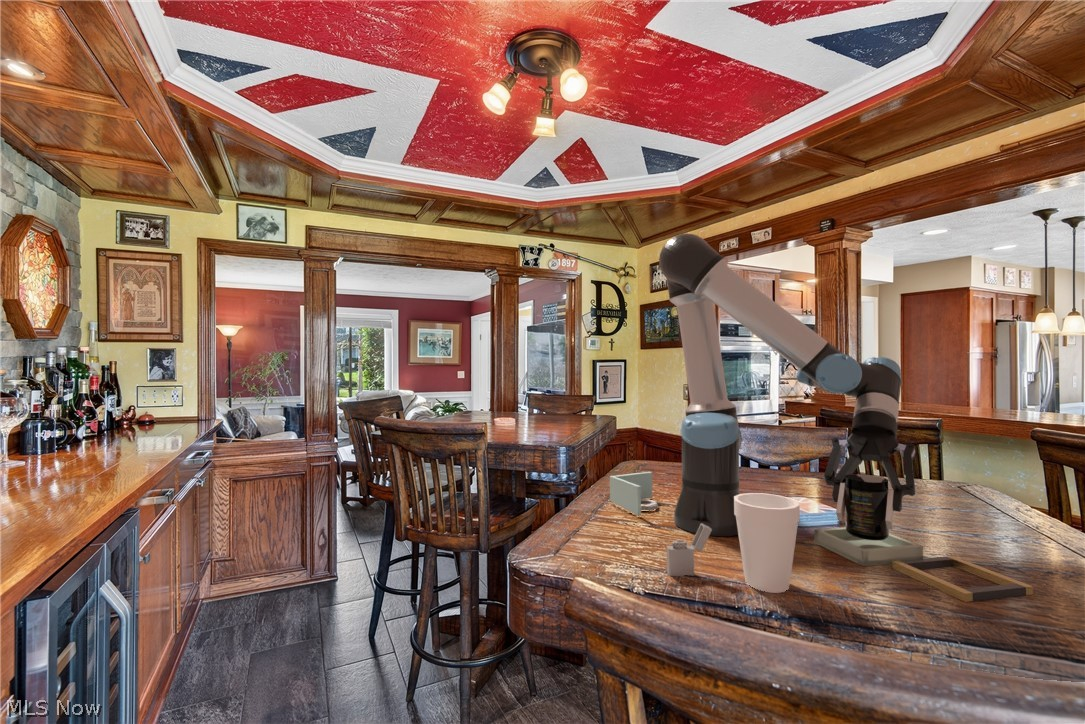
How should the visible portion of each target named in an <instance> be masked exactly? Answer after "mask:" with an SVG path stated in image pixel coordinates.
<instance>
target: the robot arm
mask: <svg viewBox="0 0 1085 724" xmlns="http://www.w3.org/2000/svg"><path fill="white" fill-rule="evenodd" d="M727 261H728V260H727V258H726V257H724V256H722V255H721V254H720V253H718V252H717V250H715V249H714V248H713V247H712V245H710V244H709V243H708V242H707V241H706V240H705V239H703V238H702V237H701V236H699V235H698V234H697V235H696V234H694V233H681V234H677V235H675V236H673V237H671V238H669V240H668V241H666V242H665V243H664V245H663V246H662V248H661V250H660V252H659V257H658V264H659V268H660V271H661V273H662V274H663V276H664V277H665V278H666V283H667V291H668V297H669V302H671V304H673V305H674V306H675V307H676V309H677V314H678V315H677V316H678V322H679V330H680V337H681V338H680V339H681V343H682V344H681V345H682V351H683V358H684V366H685V372H686V380H687V387H688V392H689V393H688V394H689V395H688V396H689V399H690V403H689V405H688V406H687V408H686V409H685V410H684V411H685V417H684V418H683V420H682V422H681V428H680V436H681V476H682V477H681V481H682V482H681V484H682V485H681V490H680V493H679V496H678V499H677V502H676V505H675V508H674V513H673V517H674V521H673V522H674V524H675V525H676V526H677V527H678V528H680V529H682V530H685V531H687V532H690V533H694V534H696V533H697V531H698V528H699V526H700V524H701V523H702V524H704V525H706V526H709V527H710V528H711V529H712V531H711V533H710V535H709V536H713V537H730V536H731V537H732V536H739V535H738V528H737V521H736V515H734V496H736V495H739V494H741V492H740V450H741V445H742V441H743V436H742V431H741V429H740V426H739V421H738V413H737V407H736V404H735V403H733V402H732V401H730V400H729V399H728V392H727V386H726V380H725V379H726V378H725V372H724V365H723V364H724V363H723V358H722V351H721V344H720V343H721V342H720V338H719V331H718V324H717V323H718V322H717V317H716V311H715V310H716V309H715V305H716V306H717V307H718V308H719V309H720V310H722V311H724V312H725V313H726V314H728V315H729V316H730V317H731V318H732V319H734V320H736V322H738V323H739V324H740V325H741V326H742V327H744V329H747V330H748V331H749V332H751V333H752V334H753V335H754V336H756V337H757V338H758V339H760V340H761V341H762V342H763V343H765V344H766V345H767V346H768V347H770V348H771V349H773V350H774V351H775V352H776V353H778V354H779V355H780V356H781V357H783V358H784V359H785V360H787V362H788V363H790V364H792V366H794V367H795V368H797V372H796V377H795V378H796V381H797V382H798V383H801V384H804V385H807V386H809V387H814V388H818V389H820V390H821V389H822V390H824V391H826V392H827V393H830V394H836V395H837V394H840V395H845V396H848V397H852V398H855V404H854V409H853V417H852V424H851V429H850V430H851V431H850V435H849V436H848V437H847V439H839V438H838V437H833V438H832V439H831V444H832V449H831V452H830V456H829V457H828V462H827V465H826V468H825V471H824V474H823V477H824V481H825V483H826V485H827V486H833V489H832V493H831V497H832V500H833V502H834V503H836V508H835V509H836V510H835V514H836V518H837V521H839V522H844V519H845V518H844V516H845V475H850V474H854V472H855V471H856V470H857V468H858V466H859V465H860V466H861V464H862V463H863V461H867V462H868V461H873V462H876V463H881V465H882V467H883V469H884V471H885V474H886V476H887V477H886V478H887V480H888V483H889V484H890V486H891V488H889V487H888V497H887V509H886V520H885V521H886V526H887V529H889V530H892V531H893V527H894V513H895V512H899V513H900V512H901V511H902V510H903V509H902V507H903V506H902V505H903V498H904V496H907V495H908V496H911V497H913V496H915V495H916V485H915V477H914V466H913V465H914V464H913V460H915V459H914V458H915V457H916V446H915V444H914V443H913V442H912V443H911V442H909V443H907V444H902V443H899V441H898V439H897V435H898V421H899V407H900V405H899V404H900V396H901V388H902V385H903V382H902V371H901V366H900V365H899V363H897V362H896V361H895V360H893V359H891V358H889V357H885V356H879V357H876V356H872V357H869V358H867V359H865V360H864V361H863V362H858V361H857V360H856V359H855V358H853V357H852V356H851V355H849V354H846V353H843V352H842V351H841V350H840V349H838V348H836V347H835V346H834V345H833V344H831V343H830V342H828V341H827V340H826V339H825V338H824V337H822V336H820V335H819V334H818V333H817V332H815V331H814V330H813V329H811V328H810V327H809V326H807V325H806V324H805V323H804V322H802V321H801V320H799V319H798V318H797V317H795V316H794V315H793V314H791V313H790V312H789V311H788V310H786V309H785V308H783V307H782V306H781V305H779V304H778V303H777V302H775V301H774V299H772V298H770V297H769V296H768V295H766V294H764V292H762V291H761V290H759V289H758V288H756V286H754V285H752V284H751V283H750V282H749V281H747V280H746V279H745V278H743V277H742V276H741V275H739V274H738V273H736V271H734V270H733V269H731V268H730V267H729V266H728V263H727ZM847 447H849V449H850V450H851V452H850V455H849V456H848V458H847V459H846V461H845V462H844V464H843V465H842V467H841V468H840V470H839V471H838V468H839V465H840V461H841V458H842V453H843V452H845V450H846V448H847ZM896 452H899V453H900V456H901V457H903V465H904V477H905V484H901V482H900V480H899V476H898V475H897V472H896V471H895V468H894V466H893V463H892V461H891V459H890V458H891V456H892V455H894V454H895V453H896ZM837 472H838V473H837Z"/></svg>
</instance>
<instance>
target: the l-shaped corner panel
mask: <svg viewBox="0 0 1085 724" xmlns="http://www.w3.org/2000/svg"><path fill="white" fill-rule="evenodd" d="M646 498H653V472H652V471H644V472H635V473H626V474H617V475H610V476H609V502H610V501H612V502H614V503H615V504H617V505H619V506H621V507H623V508H624V509H626V510H628V511H630V512H632V513H634V514H636V515H638V516H639V515H641V516H642V512H641V510H644V509H645V510H649V511H650V510H654V509H658V508H659V506H658V505H659V504H658V501H657V500H650V499H646ZM653 499H654V498H653ZM641 504H647V505H641ZM657 507H658V508H657Z"/></svg>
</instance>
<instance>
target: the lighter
mask: <svg viewBox="0 0 1085 724" xmlns="http://www.w3.org/2000/svg"><path fill="white" fill-rule="evenodd" d="M711 531H712V529H711V528H710V527H709V526H706V525H704V524H702V523H701V524H700V526H699V528H698V531H697V533H695V535H694V537H693V540H692V542H691V544H690V545H689V544H687V543H688V542H687V541H686V540H673V542H672V543H671V545H666V573H667V574H668V577H669V576H670V577H676V576H677V577H682V576H683V577H684V575H691V576H695V551H697V552H700V553H702V552H703V550H704V549H705V546H706V544H707V541H708V539H709V537H710V536H711V535H710V533H711Z"/></svg>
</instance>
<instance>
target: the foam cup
mask: <svg viewBox="0 0 1085 724" xmlns="http://www.w3.org/2000/svg"><path fill="white" fill-rule="evenodd" d="M800 509H801V508H800V503H799V502H798V501H797V500H796V499H793V498H791V497H789V496H787V497H786V496H783V495H779V494H772V493H764V492H763V493H761V492H746V493H740V494H739V495H736V496H734V515H736V521H737V528H738V535H737V536H738V540H739V547H740V556H741V561H742V568H743V575H744V576H743V577H744V579H745V581H744V582H747V583H746V584H747V586H749V585H750V586H751V587H750V586H749V587H750V588H752V587H753V588H752V589H754V588H755V590H757V589H758V590H757V591H760V590H761V592H764V591H765V593H771V594H772V593H775V594H776V593H777V594H780V593H785V591H786V590H787V591H788V590H790V584H791V577H792V572H793V563H794V554H795V548H796V540H797V532H798V524H799V522H800V520H801V519H800V517H801V516H800V514H801V513H800V512H801V511H800ZM787 591H786V592H787Z"/></svg>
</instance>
